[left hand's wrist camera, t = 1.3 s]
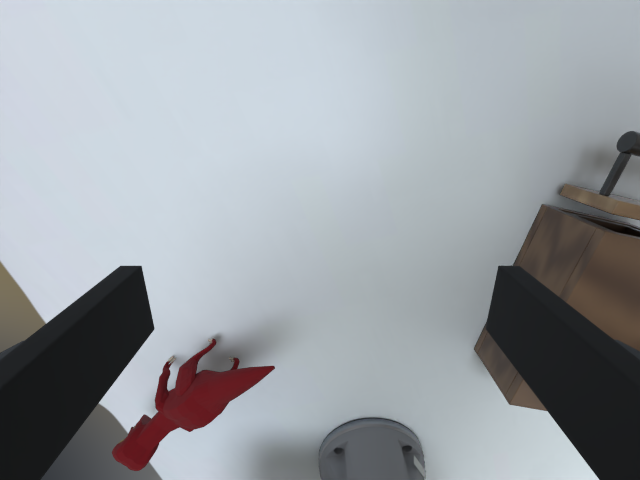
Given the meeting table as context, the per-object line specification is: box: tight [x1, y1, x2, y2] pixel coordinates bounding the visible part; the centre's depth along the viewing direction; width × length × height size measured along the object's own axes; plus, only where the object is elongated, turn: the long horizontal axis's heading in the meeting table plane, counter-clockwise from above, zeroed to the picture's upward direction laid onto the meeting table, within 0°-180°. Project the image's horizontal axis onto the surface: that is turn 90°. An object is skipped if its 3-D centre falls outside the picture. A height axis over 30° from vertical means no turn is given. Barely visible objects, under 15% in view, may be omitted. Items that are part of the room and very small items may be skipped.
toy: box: [112, 339, 275, 471], centre depth 36 cm, size 7×25×15 cm
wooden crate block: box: [474, 204, 640, 411], centre depth 36 cm, size 20×10×9 cm, turn 168°
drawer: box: [560, 131, 640, 237], centre depth 34 cm, size 24×9×7 cm, turn 168°
